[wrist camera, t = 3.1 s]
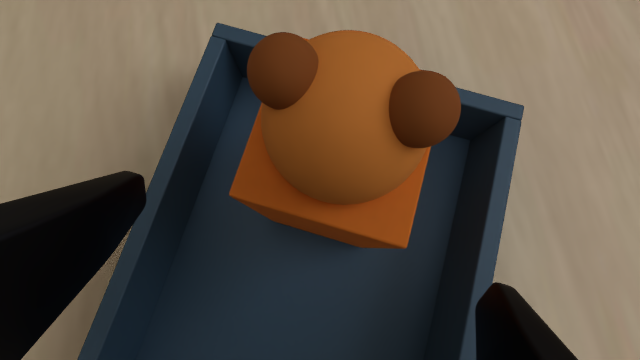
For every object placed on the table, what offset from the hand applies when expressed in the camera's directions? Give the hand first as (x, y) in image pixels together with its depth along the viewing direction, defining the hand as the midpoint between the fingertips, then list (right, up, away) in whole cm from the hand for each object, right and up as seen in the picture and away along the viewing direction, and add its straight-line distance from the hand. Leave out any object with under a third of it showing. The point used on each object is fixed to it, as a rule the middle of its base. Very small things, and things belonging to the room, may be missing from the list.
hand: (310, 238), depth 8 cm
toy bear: (+1, +1, +10) cm, 10 cm away
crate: (0, -3, +10) cm, 11 cm away
